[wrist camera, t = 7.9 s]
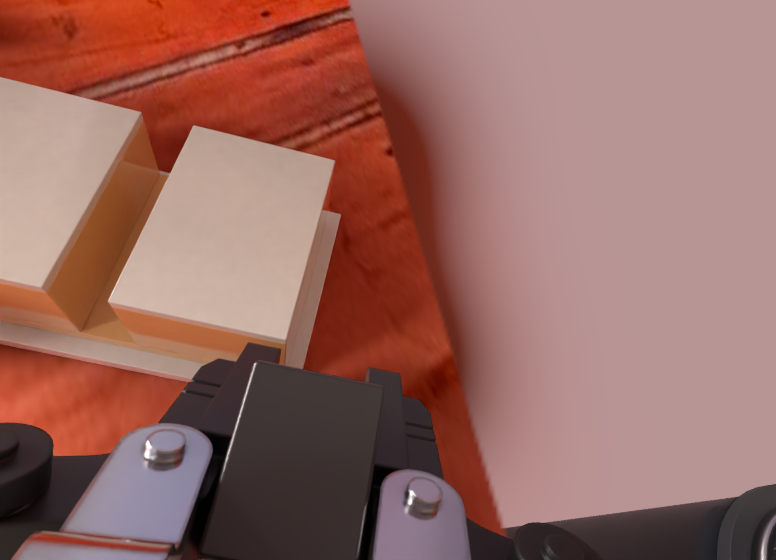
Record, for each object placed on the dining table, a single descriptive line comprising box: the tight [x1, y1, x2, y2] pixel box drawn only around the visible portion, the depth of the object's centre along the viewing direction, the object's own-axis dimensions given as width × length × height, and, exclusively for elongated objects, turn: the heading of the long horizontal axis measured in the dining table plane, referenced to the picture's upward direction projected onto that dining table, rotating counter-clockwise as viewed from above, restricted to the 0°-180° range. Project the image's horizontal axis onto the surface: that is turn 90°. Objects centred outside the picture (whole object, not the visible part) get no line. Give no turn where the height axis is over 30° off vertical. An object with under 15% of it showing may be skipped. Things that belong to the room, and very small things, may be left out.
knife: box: [197, 360, 386, 560], centre depth 15 cm, size 2×4×19 cm, turn 171°
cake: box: [0, 77, 341, 382], centre depth 30 cm, size 22×14×8 cm, turn 81°
